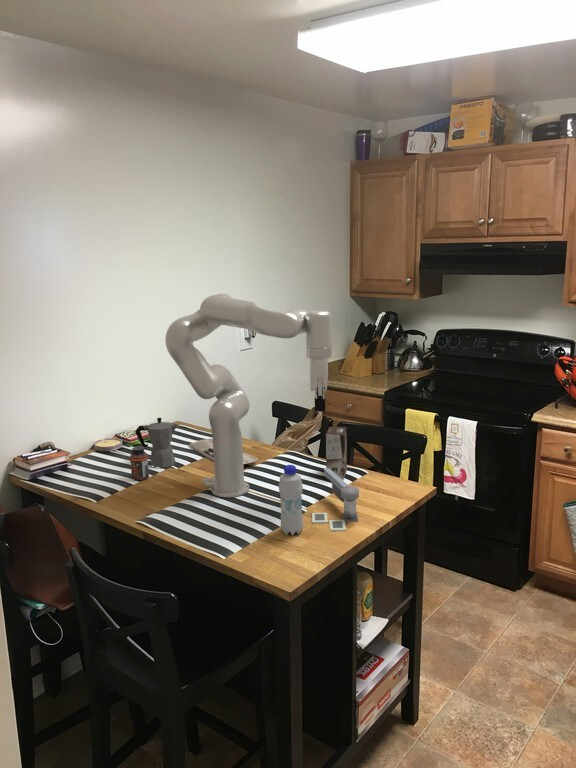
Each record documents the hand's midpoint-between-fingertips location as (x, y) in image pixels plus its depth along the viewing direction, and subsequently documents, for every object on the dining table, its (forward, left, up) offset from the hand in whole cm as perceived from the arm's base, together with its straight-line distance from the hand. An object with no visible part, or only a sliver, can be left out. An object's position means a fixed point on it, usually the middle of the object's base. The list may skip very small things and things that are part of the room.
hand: (320, 410), depth 191 cm
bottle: (-9, -22, -29) cm, 38 cm away
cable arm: (+5, -7, -26) cm, 27 cm away
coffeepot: (-59, +33, -29) cm, 74 cm away
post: (+8, -14, -29) cm, 33 cm away
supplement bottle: (-63, +20, -29) cm, 72 cm away
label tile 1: (-1, -14, -29) cm, 32 cm away
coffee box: (+6, +20, -29) cm, 36 cm away
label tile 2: (+4, -19, -29) cm, 35 cm away
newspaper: (-36, +41, -30) cm, 62 cm away
